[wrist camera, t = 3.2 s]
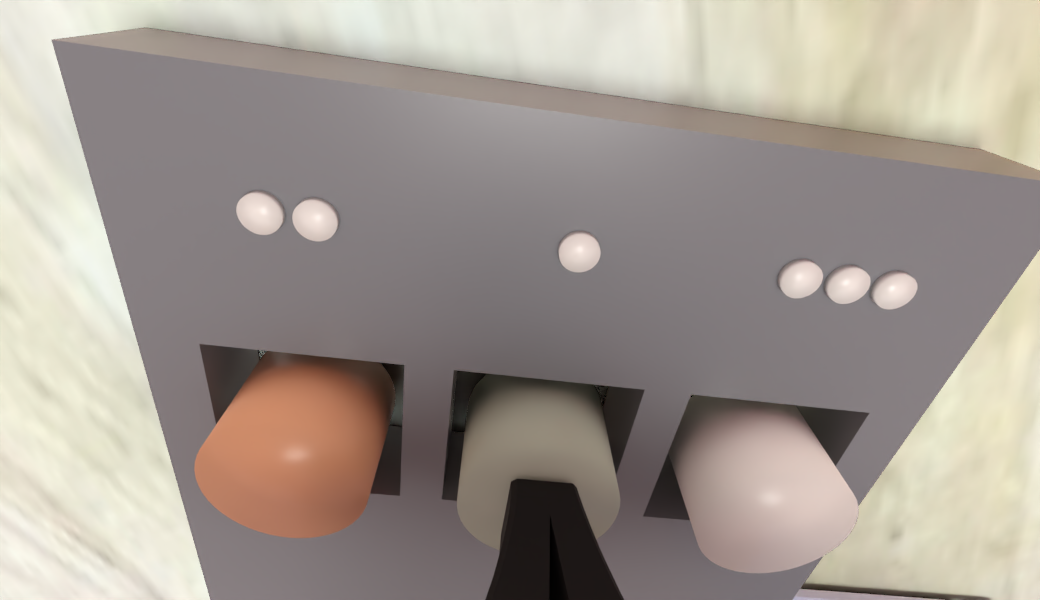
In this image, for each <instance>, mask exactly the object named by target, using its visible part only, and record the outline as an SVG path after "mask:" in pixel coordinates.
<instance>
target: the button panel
mask: <svg viewBox="0 0 1040 600" xmlns="http://www.w3.org/2000/svg"><path fill="white" fill-rule="evenodd" d="M52 43H53V46H54V50H55V53H56V57H57V60H58V64H59V67H60V71H61V74H62V78H63V81H64V85H65V88H66V92H67V95H68V99H69V102H70V106H71V110H72V113H73V117H74V120H75V124H76V127H77V131H78V134H79V138H80V141H81V145H82V148H83V152H84V155H85V159H86V162H87V166H88V169H89V173H90V177H91V180H92V184H93V187H94V191H95V194H96V198H97V201H98V205H99V208H100V212H101V215H102V219H103V222H104V226H105V229H106V233H107V236H108V240H109V244H110V247H111V251H112V254H113V258H114V261H115V265H116V268H117V272H118V275H119V279H120V282H121V286H122V289H123V293H124V296H125V300H126V303H127V307H128V310H129V314H130V318H131V321H132V325H133V328H134V332H135V335H136V339H137V342H138V346H139V349H140V353H141V356H142V360H143V363H144V367H145V370H146V374H147V377H148V381H149V385H150V388H151V392H152V395H153V399H154V402H155V406H156V409H157V413H158V416H159V420H160V423H161V427H162V430H163V434H164V437H165V441H166V444H167V448H168V452H169V455H170V459H171V462H172V466H173V469H174V473H175V476H176V480H177V483H178V487H179V490H180V494H181V497H182V501H183V504H184V508H185V511H186V515H187V518H188V522H189V526H190V529H191V533H192V536H193V540H194V543H195V547H196V550H197V554H198V557H199V561H200V564H201V568H202V571H203V575H204V578H205V582H206V585H207V589H208V593H209V596H210V600H485V599H486V596H487V593H488V590H489V587H490V585H491V582H492V578H493V575H494V572H495V568H496V565H497V561H498V558H499V551H500V550H497V549H495V548H492V547H490V546H488V545H486V544H484V543H482V542H481V541H479V540H478V539H476V538H475V537H474V536H473V535H472V534H471V533H470V532H469V531H468V530H467V529H466V528H465V527H464V525H463V523H462V522H461V520H460V517H459V515H458V510H457V496H458V487H459V478H460V469H461V460H462V451H463V442H464V433H465V432H454V431H451V430H452V420H453V410H454V399H455V389H456V379H457V370H458V371H467V372H477V373H487V374H497V375H506V376H516V377H526V378H535V379H545V380H555V381H565V382H574V383H584V384H594V385H603V386H609V388H608V392H607V395H606V399H605V402H604V405H603V414H604V419H605V424H606V429H607V434H608V439H609V444H610V449H611V454H612V459H613V464H614V468H615V473H616V478H617V483H618V488H619V493H620V508H619V512H618V515H617V517H616V519H615V521H614V522H613V524H612V525H611V527H610V528H609V529H608V530H607V531H606V532H605V533H604V534H603V535H602V536H600V537H599V538H598V539H596V540H597V542H598V545H599V547H600V549H601V552H602V554H603V556H604V558H605V561H606V563H607V565H608V567H609V569H610V571H611V573H612V576H613V578H614V580H615V582H616V584H617V586H618V588H619V590H620V592H621V594H622V596H623V598H624V600H792V599H793V598H794V597H795V595H796V594H797V592H798V591H799V590H800V588H801V587H802V585H803V584H804V582H805V581H806V580H807V578H808V577H809V575H810V574H811V573H812V571H813V570H814V568H815V567H816V565H817V564H818V563H819V561H820V560H821V558H822V557H823V556H822V557H820V558H819V559H817V560H815V561H812V562H810V563H808V564H805V565H802V566H799V567H796V568H792V569H789V570H784V571H779V572H771V573H744V572H737V571H733V570H729V569H726V568H723V567H721V566H719V565H716V564H715V563H713V562H712V561H710V560H709V559H708V558H707V557H706V556H705V555H704V554H703V553H702V552H701V550H700V548H699V546H698V543H697V540H696V537H695V534H694V531H693V528H692V525H691V521H690V518H689V515H688V512H687V509H686V506H685V503H684V500H683V497H682V494H681V491H680V487H679V484H678V481H677V478H676V475H675V472H674V469H673V466H672V463H671V460H670V457H669V453H668V452H669V449H670V447H671V444H672V442H673V439H674V437H675V434H676V431H677V429H678V426H679V424H680V421H681V419H682V416H683V414H684V411H685V409H686V406H687V404H688V401H689V399H690V396H691V395H701V396H710V397H720V398H730V399H739V400H749V401H759V402H769V403H778V404H788V405H795V406H796V407H797V409H798V410H799V412H800V413H801V415H802V416H803V418H804V419H805V421H806V422H807V424H808V425H809V427H810V428H811V430H812V431H813V433H814V434H815V436H816V438H817V439H818V441H819V442H820V444H821V445H822V447H823V448H824V450H825V451H826V453H827V454H828V456H829V457H830V459H831V460H832V462H833V463H834V465H835V466H836V468H837V469H838V471H839V472H840V474H841V476H842V477H843V479H844V480H845V482H846V483H847V485H848V486H849V488H850V489H851V491H852V492H853V494H854V496H855V497H856V499H857V503H858V506H859V505H860V503H861V502H862V500H863V499H864V497H865V496H866V495H867V493H868V492H869V490H870V489H871V488H872V486H873V485H874V483H875V482H876V480H877V479H878V478H879V476H880V475H881V473H882V472H883V471H884V469H885V468H886V466H887V465H888V463H889V462H890V461H891V459H892V458H893V456H894V455H895V454H896V452H897V451H898V449H899V448H900V446H901V445H902V444H903V442H904V441H905V439H906V438H907V437H908V435H909V434H910V432H911V431H912V429H913V428H914V427H915V425H916V424H917V422H918V421H919V420H920V418H921V417H922V415H923V414H924V412H925V411H926V410H927V408H928V407H929V405H930V404H931V403H932V401H933V400H934V398H935V397H936V395H937V394H938V393H939V391H940V390H941V388H942V387H943V385H944V384H945V383H946V381H947V380H948V378H949V377H950V376H951V374H952V373H953V371H954V370H955V368H956V367H957V366H958V364H959V363H960V361H961V360H962V359H963V357H964V356H965V354H966V353H967V351H968V350H969V349H970V347H971V346H972V344H973V343H974V342H975V340H976V339H977V337H978V336H979V334H980V333H981V332H982V330H983V329H984V327H985V326H986V325H987V323H988V322H989V320H990V319H991V317H992V316H993V315H994V313H995V312H996V310H997V309H998V308H999V306H1000V305H1001V303H1002V302H1003V300H1004V299H1005V298H1006V296H1007V295H1008V293H1009V292H1010V291H1011V289H1012V288H1013V286H1014V285H1015V283H1016V282H1017V281H1018V279H1019V278H1020V276H1021V275H1022V274H1023V272H1024V271H1025V269H1026V268H1027V266H1028V265H1029V264H1030V262H1031V261H1032V259H1033V258H1034V257H1035V255H1036V254H1037V252H1038V251H1039V249H1040V171H1039V170H1037V169H1034V168H1031V167H1028V166H1026V165H1023V164H1020V163H1017V162H1015V161H1012V160H1009V159H1006V158H1004V157H1001V156H998V155H995V154H993V153H990V152H987V151H984V150H981V149H974V148H967V147H961V146H954V145H947V144H940V143H933V142H926V141H919V140H913V139H906V138H899V137H892V136H885V135H878V134H871V133H865V132H858V131H851V130H844V129H837V128H830V127H823V126H817V125H810V124H803V123H796V122H789V121H782V120H775V119H769V118H762V117H755V116H748V115H741V114H734V113H727V112H721V111H714V110H707V109H700V108H693V107H686V106H679V105H673V104H666V103H659V102H652V101H645V100H638V99H631V98H625V97H618V96H611V95H604V94H597V93H590V92H583V91H577V90H570V89H563V88H556V87H549V86H542V85H535V84H529V83H522V82H515V81H508V80H501V79H494V78H487V77H481V76H474V75H467V74H460V73H453V72H446V71H439V70H433V69H426V68H419V67H412V66H405V65H398V64H391V63H385V62H378V61H371V60H364V59H357V58H350V57H343V56H337V55H330V54H323V53H316V52H309V51H302V50H295V49H289V48H282V47H275V46H268V45H261V44H254V43H247V42H241V41H234V40H227V39H220V38H213V37H206V36H199V35H193V34H186V33H179V32H172V31H165V30H158V29H151V28H139V29H131V30H123V31H116V32H108V33H100V34H93V35H85V36H77V37H69V38H62V39H54V40H52ZM258 350H263V351H273V352H283V353H293V354H302V355H312V356H322V357H331V358H341V359H351V360H361V361H370V362H380V363H390V364H399V365H404V390H403V421H402V427H401V426H390V425H389V428H388V432H387V435H386V439H385V442H384V446H383V449H382V453H381V456H380V460H379V463H378V467H377V470H376V474H375V478H374V481H373V485H372V488H371V492H370V495H369V499H368V502H367V505H366V508H365V510H364V511H363V513H362V514H361V516H360V517H359V518H358V519H357V520H356V521H355V522H354V523H352V524H351V525H349V526H348V527H346V528H344V529H342V530H340V531H338V532H335V533H332V534H329V535H325V536H320V537H312V538H288V537H279V536H274V535H269V534H266V533H262V532H258V531H256V530H253V529H250V528H248V527H245V526H243V525H241V524H239V523H237V522H235V521H233V520H232V519H230V518H228V517H227V516H225V515H224V514H222V513H221V512H220V511H219V510H218V509H216V508H215V507H214V506H213V505H212V504H211V503H210V502H209V501H208V500H207V498H206V497H205V496H204V494H203V493H202V491H201V490H200V488H199V486H198V483H197V480H196V477H195V471H194V467H195V460H196V456H197V454H198V452H199V450H200V448H201V447H202V445H203V444H204V442H205V441H206V439H207V438H208V436H209V435H210V433H211V432H212V430H213V429H214V427H215V426H216V424H217V423H218V421H219V420H220V418H221V417H222V415H223V414H224V412H225V411H226V409H227V408H228V406H229V405H230V403H231V402H232V400H233V399H234V397H235V396H236V395H237V393H238V392H239V390H240V389H241V387H242V386H243V384H244V383H245V381H246V380H247V378H248V377H249V375H250V374H251V372H252V371H253V369H254V368H255V366H256V365H257V363H258V362H259V355H258Z"/></svg>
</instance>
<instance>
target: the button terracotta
mask: <svg viewBox="0 0 1040 600" xmlns="http://www.w3.org/2000/svg"><path fill="white" fill-rule="evenodd" d="M395 400H396V396H395V388H394V384H393V382H392V380H391V377H390V376H389V374H388V372H387V371H386V369H385V368H384V367H383V365H382V364H381V363H380V362H370V361H361V360H351V359H341V358H331V357H322V356H312V355H302V354H293V353H283V352H273V351H267V352H265V354H264V355H263V356H262V357H261V359H260V360H259V362H258V363H257V365H256V366H255V368H254V369H253V371H252V372H251V374H250V375H249V377H248V378H247V380H246V381H245V383H244V384H243V386H242V387H241V389H240V390H239V392H238V393H237V395H236V396H235V397H234V399H233V400H232V402H231V403H230V405H229V406H228V408H227V409H226V411H225V412H224V414H223V415H222V417H221V418H220V420H219V421H218V423H217V424H216V426H215V427H214V429H213V430H212V432H211V433H210V435H209V436H208V438H207V439H206V441H205V442H204V444H203V445H202V447H201V448H200V450H199V452H198V454H197V456H196V460H195V467H194V471H195V477H196V480H197V483H198V486H199V488H200V490H201V491H202V493H203V494H204V496H205V497H206V498H207V500H208V501H209V502H210V503H211V504H212V505H213V506H214V507H215V508H216V509H218V510H219V511H220V512H221V513H222V514H224V515H225V516H227V517H228V518H230V519H232V520H233V521H235V522H237V523H239V524H241V525H243V526H245V527H248V528H250V529H253V530H256V531H258V532H262V533H266V534H269V535H274V536H279V537H288V538H312V537H320V536H325V535H329V534H332V533H335V532H338V531H340V530H342V529H344V528H346V527H348V526H349V525H351V524H352V523H354V522H355V521H356V520H357V519H358V518H359V517H360V516H361V514H362V513H363V511H364V510H365V508H366V505H367V502H368V499H369V495H370V492H371V488H372V485H373V481H374V478H375V474H376V470H377V467H378V463H379V460H380V456H381V453H382V449H383V446H384V442H385V439H386V435H387V432H388V428H389V424H390V421H391V417H392V414H393V410H394V407H395Z"/></svg>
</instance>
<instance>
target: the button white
mask: <svg viewBox="0 0 1040 600" xmlns="http://www.w3.org/2000/svg"><path fill="white" fill-rule="evenodd" d="M668 453H669V457H670V460H671V463H672V466H673V469H674V472H675V475H676V478H677V481H678V484H679V487H680V491H681V494H682V497H683V500H684V503H685V506H686V509H687V512H688V515H689V518H690V521H691V525H692V528H693V531H694V534H695V537H696V540H697V543H698V546H699V548H700V550H701V552H702V553H703V554H704V555H705V556H706V557H707V558H708V559H709V560H710V561H712V562H713V563H715V564H716V565H719V566H721V567H723V568H726V569H729V570H733V571H737V572H744V573H771V572H779V571H784V570H789V569H792V568H796V567H799V566H802V565H805V564H808V563H810V562H812V561H815V560H817V559H819V558H820V557H822V556H824V555H826V554H827V553H829V552H831V551H832V550H833V549H835V548H836V547H837V546H839V545H840V544H841V543H842V542H843V541H844V540H845V539H846V538H847V536H848V535H849V534H850V533H851V531H852V530H853V528H854V526H855V524H856V521H857V518H858V513H859V509H858V503H857V499H856V497H855V496H854V494H853V492H852V491H851V489H850V488H849V486H848V485H847V483H846V482H845V480H844V479H843V477H842V476H841V474H840V472H839V471H838V469H837V468H836V466H835V465H834V463H833V462H832V460H831V459H830V457H829V456H828V454H827V453H826V451H825V450H824V448H823V447H822V445H821V444H820V442H819V441H818V439H817V438H816V436H815V434H814V433H813V431H812V430H811V428H810V427H809V425H808V424H807V422H806V421H805V419H804V418H803V416H802V415H801V413H800V412H799V410H798V409H797V407H796V406H795V405H788V404H778V403H769V402H759V401H749V400H739V399H730V398H720V397H710V396H701V395H694V396H693V397H691V398H690V399H689V401H688V404H687V406H686V409H685V411H684V414H683V416H682V419H681V421H680V424H679V426H678V429H677V431H676V434H675V437H674V439H673V442H672V444H671V447H670V449H669V452H668Z"/></svg>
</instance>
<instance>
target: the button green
mask: <svg viewBox="0 0 1040 600" xmlns="http://www.w3.org/2000/svg"><path fill="white" fill-rule="evenodd" d="M515 479H528V480H540V481H552V482H563V483H573V484H574V485H575V486H576V487H577V490H578V493H579V496H580V499H581V502H582V504H583V507H584V510H585V513H586V515H587V518H588V520H589V523H590V526H591V528H592V530H593V533H594V535H595V538H596V539H598V538H599V537H600V536H602V535H603V534H604V533H605V532H606V531H607V530H608V529H609V528H610V527H611V525H612V524H613V522H614V521H615V519H616V517H617V515H618V512H619V508H620V493H619V488H618V483H617V478H616V473H615V468H614V464H613V459H612V454H611V449H610V444H609V439H608V434H607V429H606V424H605V419H604V414H603V409H602V404H601V399H600V396H599V393H598V391H597V389H596V387H595V386H594V384H584V383H574V382H565V381H555V380H545V379H535V378H526V377H516V376H506V375H497V374H487V375H485V376H484V377H483V378H482V379H481V380H480V381H479V382H478V383H477V385H476V386H475V387H474V389H473V391H472V392H471V395H470V398H469V401H468V407H467V416H466V425H465V433H464V442H463V451H462V460H461V469H460V478H459V487H458V496H457V510H458V515H459V517H460V520H461V522H462V523H463V525H464V527H465V528H466V529H467V530H468V531H469V532H470V533H471V534H472V535H473V536H474V537H475V538H476V539H478V540H479V541H481V542H482V543H484V544H486V545H488V546H490V547H492V548H495V549H497V550H500V540H501V531H502V526H503V521H504V515H505V510H506V505H507V500H508V494H509V489H510V484H511V481H513V480H515Z"/></svg>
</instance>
